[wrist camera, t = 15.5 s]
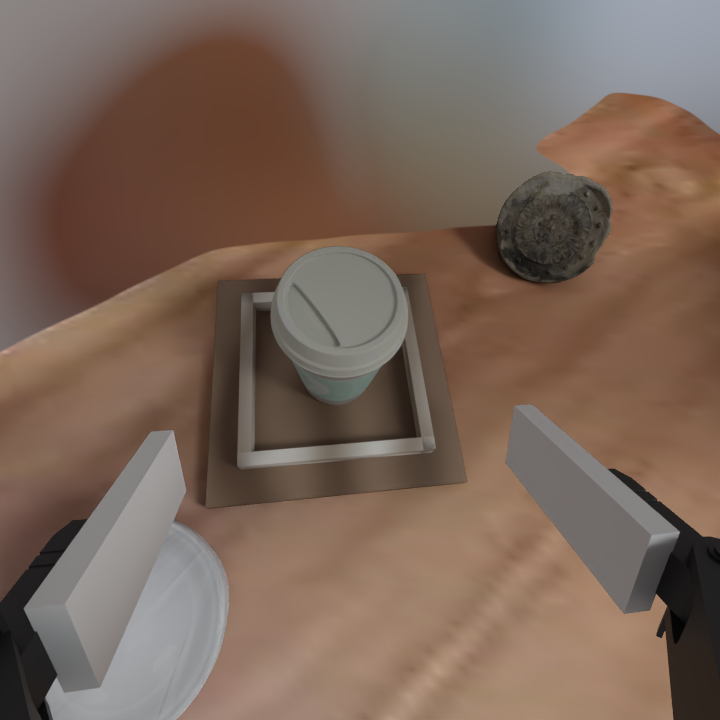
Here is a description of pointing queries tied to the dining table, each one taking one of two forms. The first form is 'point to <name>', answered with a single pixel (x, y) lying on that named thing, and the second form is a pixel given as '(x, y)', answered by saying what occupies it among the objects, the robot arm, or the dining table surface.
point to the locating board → (323, 412)
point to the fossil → (553, 226)
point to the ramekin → (161, 639)
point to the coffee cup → (339, 320)
